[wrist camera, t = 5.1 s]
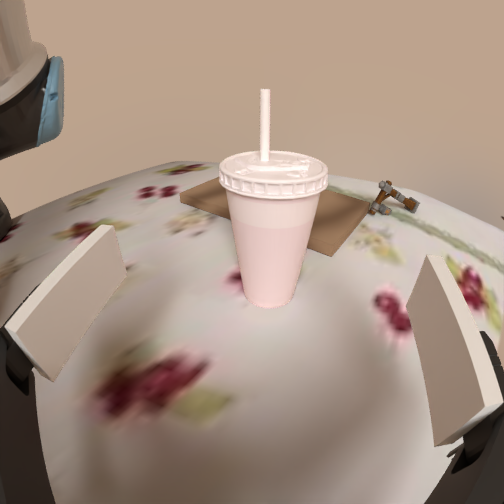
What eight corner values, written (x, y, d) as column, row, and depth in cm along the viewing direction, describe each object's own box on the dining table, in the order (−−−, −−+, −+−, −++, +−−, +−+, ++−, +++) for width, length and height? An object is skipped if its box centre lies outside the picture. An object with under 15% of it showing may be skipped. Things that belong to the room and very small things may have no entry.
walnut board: (180, 202, 35) (179, 193, 34) (240, 176, 43) (240, 168, 42) (331, 256, 25) (333, 245, 24) (368, 211, 33) (370, 202, 32)
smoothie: (242, 259, 25) (239, 87, 17) (317, 273, 23) (336, 93, 15) (212, 310, 20) (193, 92, 12) (303, 331, 18) (332, 95, 10)
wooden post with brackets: (361, 207, 32) (378, 174, 30) (396, 223, 36) (411, 195, 34) (370, 214, 31) (388, 180, 29) (405, 230, 34) (420, 201, 33)
